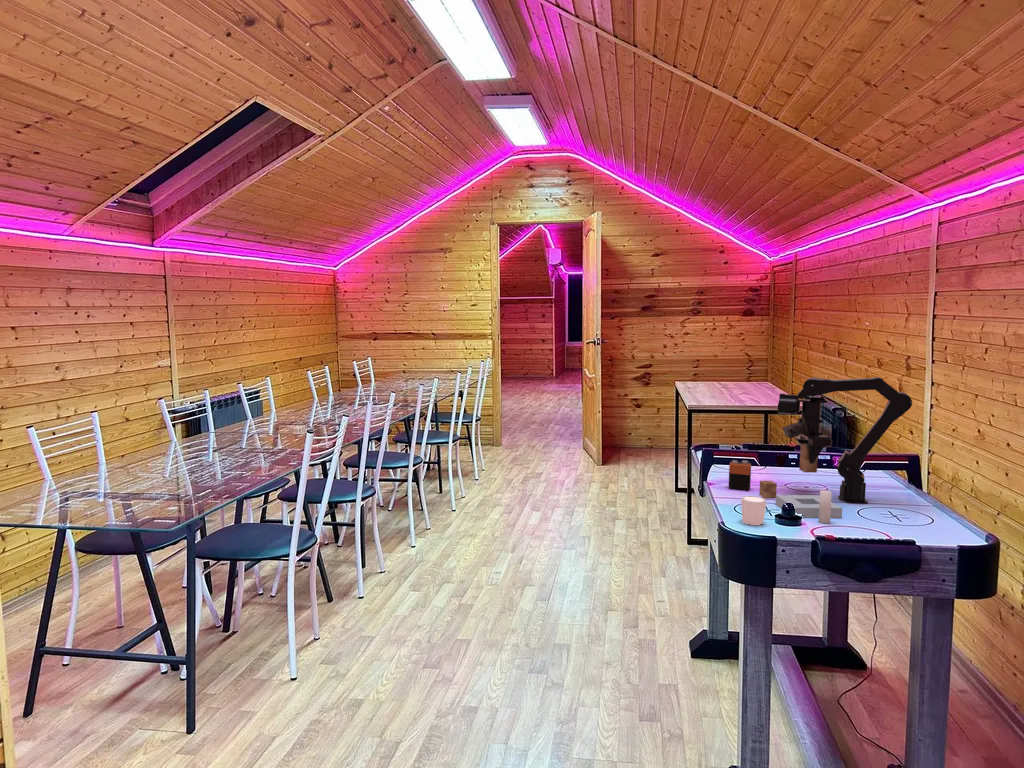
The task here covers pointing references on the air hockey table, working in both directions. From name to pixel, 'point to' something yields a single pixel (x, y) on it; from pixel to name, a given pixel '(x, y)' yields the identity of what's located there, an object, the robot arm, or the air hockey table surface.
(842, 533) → the air hockey table surface
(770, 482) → the short brown block
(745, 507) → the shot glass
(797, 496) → the gauge block
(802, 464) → the brown rectangular block
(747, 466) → the battery
